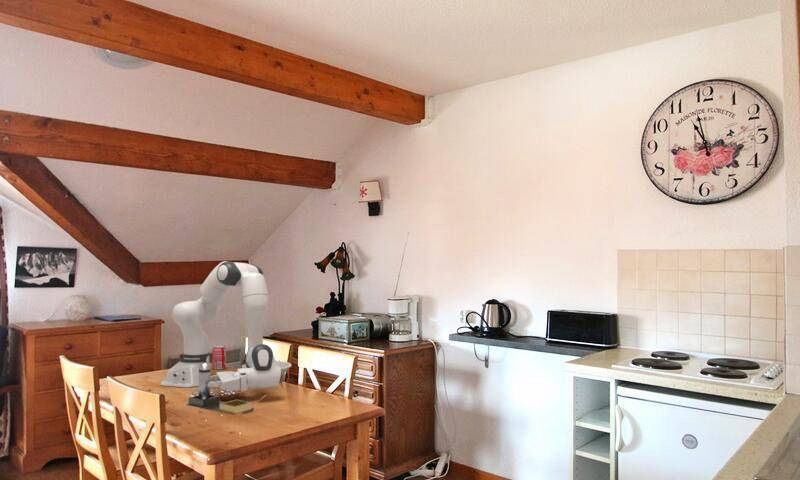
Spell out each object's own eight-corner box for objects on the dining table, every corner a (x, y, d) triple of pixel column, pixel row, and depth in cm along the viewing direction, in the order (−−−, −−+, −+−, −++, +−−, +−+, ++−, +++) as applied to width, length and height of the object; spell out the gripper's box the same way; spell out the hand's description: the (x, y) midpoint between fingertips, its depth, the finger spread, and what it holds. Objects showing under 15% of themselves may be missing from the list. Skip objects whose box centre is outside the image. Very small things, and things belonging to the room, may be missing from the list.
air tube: (196, 404, 227) (196, 364, 227) (200, 401, 231) (201, 362, 232) (207, 404, 226) (208, 364, 227) (211, 401, 231) (212, 362, 231)
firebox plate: (185, 407, 226) (185, 398, 226) (207, 401, 236) (207, 392, 236) (232, 417, 213) (232, 407, 213) (254, 410, 222) (254, 401, 222)
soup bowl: (290, 383, 270) (290, 369, 270) (238, 384, 266) (238, 370, 266) (292, 373, 294) (292, 360, 294) (244, 374, 290) (244, 361, 290)
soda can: (221, 367, 307) (222, 344, 307) (228, 369, 302) (228, 346, 302) (209, 368, 302) (209, 346, 302) (215, 370, 297) (216, 347, 297)
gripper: (238, 366, 245) (204, 369, 239) (246, 376, 226) (209, 379, 220) (237, 381, 245) (204, 384, 239) (245, 392, 226) (209, 395, 220)
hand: (206, 381), depth 229 cm, fingers open, 8 cm apart
